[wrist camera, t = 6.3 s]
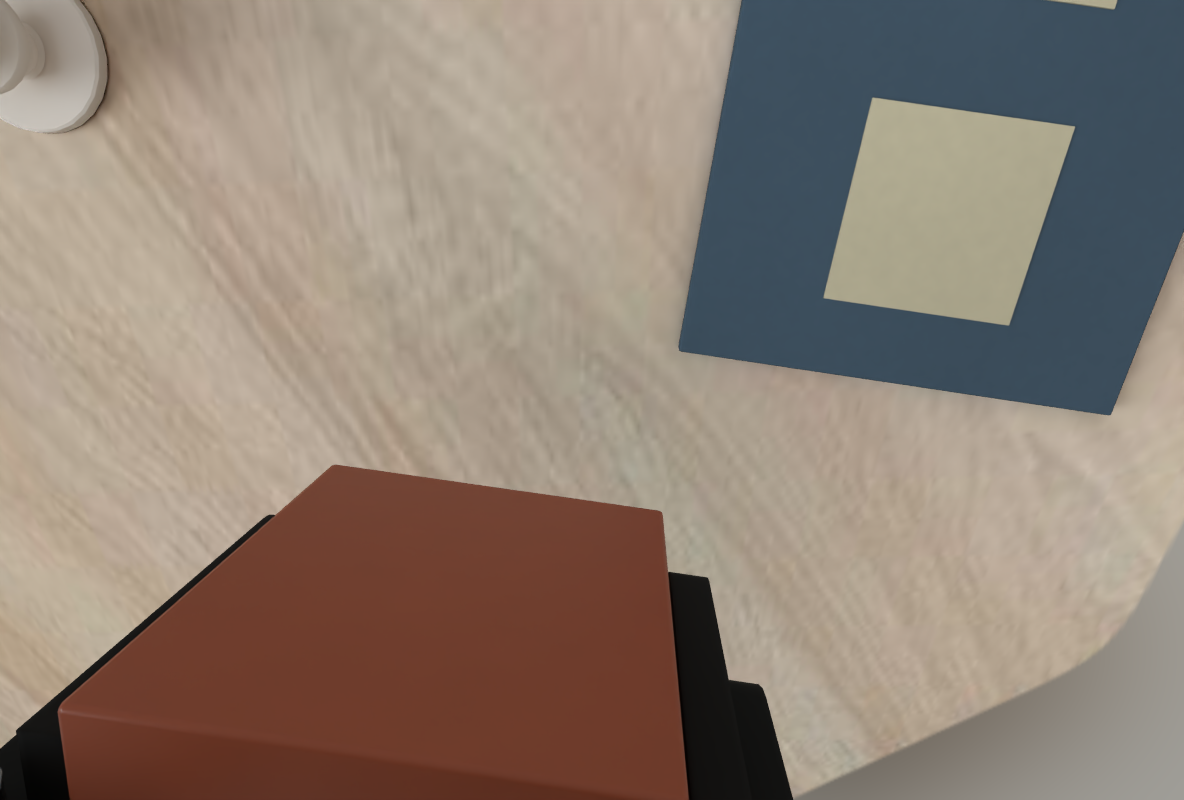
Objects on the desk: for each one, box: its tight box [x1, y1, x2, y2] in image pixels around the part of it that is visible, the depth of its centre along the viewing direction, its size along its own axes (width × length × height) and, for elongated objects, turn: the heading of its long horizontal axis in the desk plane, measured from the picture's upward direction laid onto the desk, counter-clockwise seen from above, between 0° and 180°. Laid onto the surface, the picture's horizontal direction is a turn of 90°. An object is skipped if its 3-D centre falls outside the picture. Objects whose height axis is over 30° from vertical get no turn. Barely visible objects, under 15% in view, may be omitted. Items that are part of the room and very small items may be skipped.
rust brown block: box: [58, 465, 689, 800], centre depth 7 cm, size 4×4×5 cm
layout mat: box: [678, 0, 1184, 415], centre depth 21 cm, size 16×22×1 cm
